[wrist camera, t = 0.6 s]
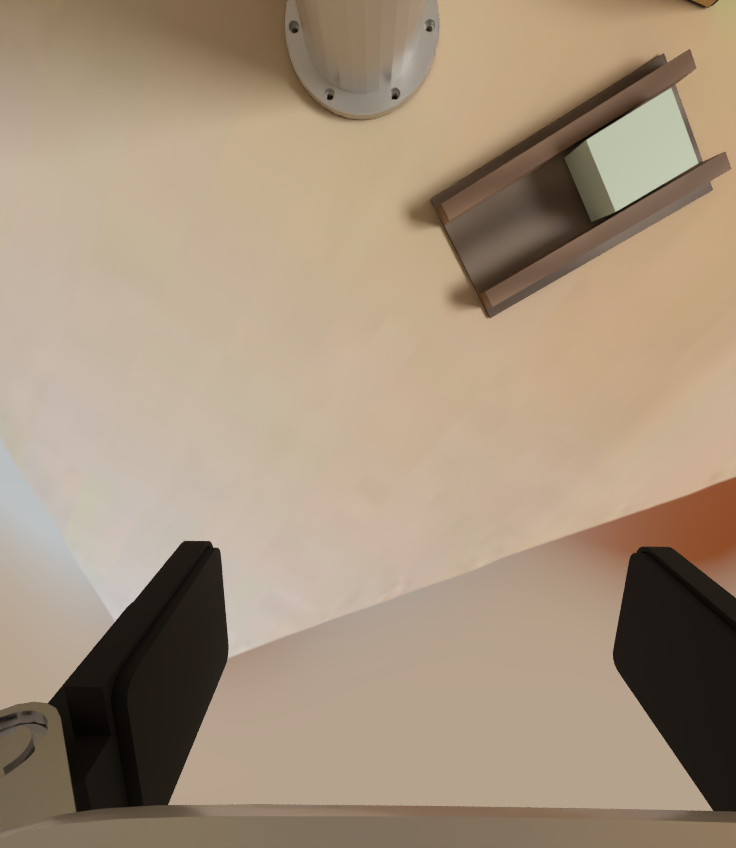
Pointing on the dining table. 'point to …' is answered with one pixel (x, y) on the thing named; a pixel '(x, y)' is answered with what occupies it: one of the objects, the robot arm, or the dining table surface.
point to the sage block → (632, 156)
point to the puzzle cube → (706, 2)
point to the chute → (560, 196)
